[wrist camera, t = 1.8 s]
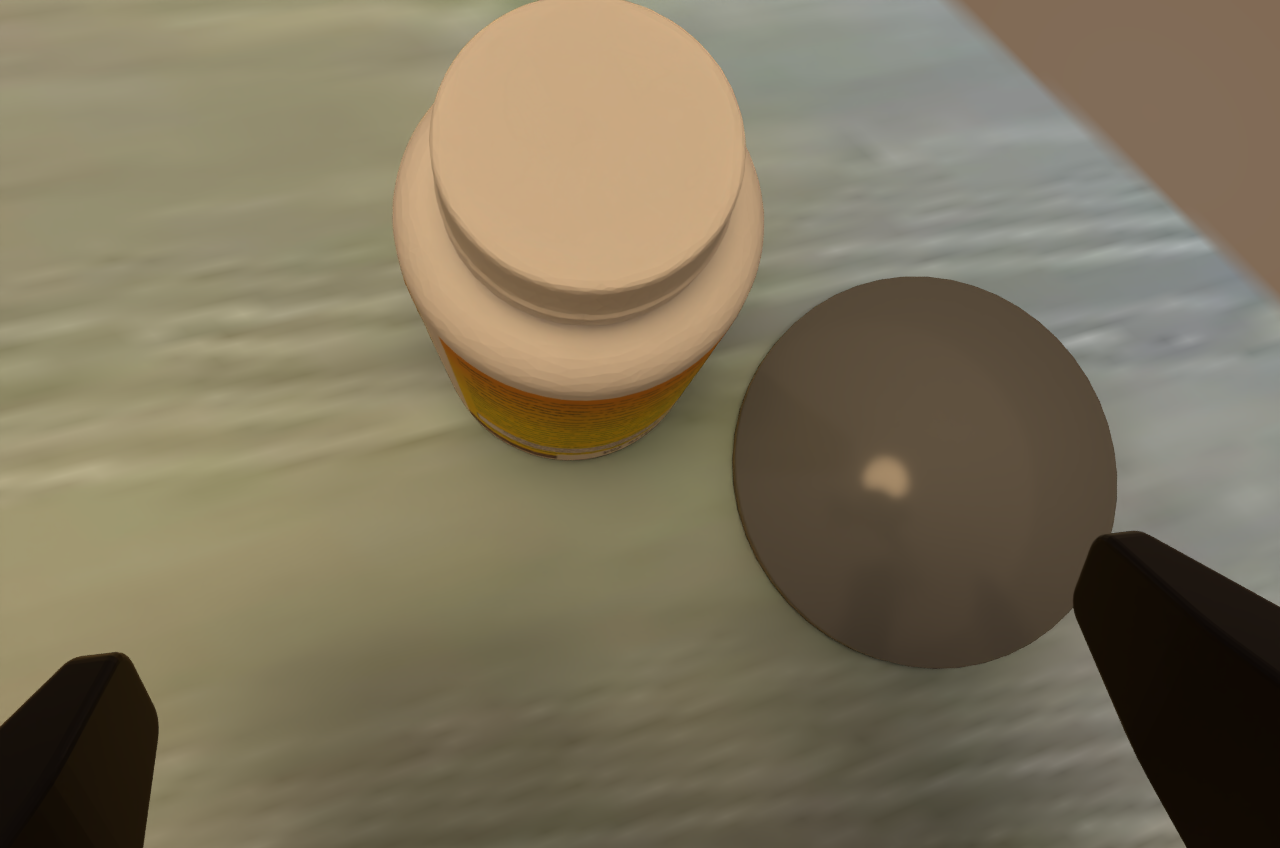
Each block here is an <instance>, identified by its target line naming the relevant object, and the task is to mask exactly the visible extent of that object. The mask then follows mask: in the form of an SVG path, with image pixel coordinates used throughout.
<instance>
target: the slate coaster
mask: <svg viewBox="0 0 1280 848" xmlns="http://www.w3.org/2000/svg"><path fill="white" fill-rule="evenodd" d="M732 464H733V485H734V491H735V496H736V502H737V508H738V512H739V515H740V519H741V522H742V525H743V528H744V531H745V535H746V537H747V539H748V541H749V544H750V546H751V548H752V550H753V552H754V555H755V557H756V559H757V561H758V562H759V564H760V566H761V567H762V569H763V570H764V572H765V574H766V575H767V577H768V578H769V580H770V582H771V583H772V584H773V585H774V587H775V588H776V589H777V590H778V592H779V593H780V594H781V595H782V596H783V598H784V599H785V600H786V601H787V603H788V604H790V605H791V606H792V607H793V608H794V609H795V610H796V611H797V612H798V613H799V614H800V615H801V616H802V617H803V618H804V619H805V620H806V621H808V622H809V623H810V624H812V625H813V626H814V627H816V628H817V629H819V630H820V631H821V632H823V633H824V634H825V635H827V636H828V637H830V638H832V639H834V640H836V641H837V642H839V643H841V644H843V645H845V646H847V647H848V648H850V649H852V650H855V651H858V652H860V653H863V654H865V655H868V656H871V657H873V658H876V659H880V660H885V661H889V662H893V663H897V664H901V665H906V666H912V667H923V668H933V669H937V668H960V667H965V666H970V665H976V664H981V663H986V662H989V661H992V660H994V659H997V658H1000V657H1003V656H1006V655H1009V654H1011V653H1013V652H1015V651H1017V650H1019V649H1021V648H1023V647H1025V646H1027V645H1029V644H1031V643H1032V642H1033V641H1035V640H1036V639H1038V638H1039V637H1041V636H1042V635H1043V634H1045V633H1046V632H1048V631H1049V630H1050V629H1052V628H1053V627H1054V626H1055V625H1056V624H1057V623H1058V622H1059V621H1060V620H1061V619H1062V618H1063V617H1064V616H1065V615H1066V614H1067V613H1069V611H1070V610H1071V609H1072V608H1073V593H1074V589H1075V586H1076V584H1077V581H1078V578H1079V576H1080V573H1081V570H1082V568H1083V565H1084V562H1085V560H1086V557H1087V554H1088V552H1089V549H1090V546H1091V544H1092V542H1093V541H1094V540H1095V539H1096V538H1097V537H1098V536H1100V535H1103V534H1109V533H1111V531H1112V527H1113V523H1114V516H1115V508H1116V501H1117V470H1116V462H1115V453H1114V447H1113V443H1112V438H1111V434H1110V430H1109V426H1108V423H1107V420H1106V417H1105V415H1104V412H1103V409H1102V407H1101V404H1100V401H1099V399H1098V397H1097V395H1096V393H1095V391H1094V390H1093V388H1092V386H1091V384H1090V382H1089V380H1088V378H1087V377H1086V375H1085V374H1084V372H1083V371H1082V369H1081V368H1080V366H1079V365H1078V363H1077V362H1076V360H1075V359H1074V357H1073V356H1072V355H1071V354H1070V353H1069V351H1068V350H1067V349H1066V348H1065V347H1064V346H1063V344H1062V343H1061V342H1060V341H1059V340H1058V339H1057V338H1056V337H1055V336H1054V335H1053V334H1052V333H1051V332H1050V331H1049V330H1048V329H1046V328H1045V327H1044V326H1043V325H1042V324H1041V323H1040V322H1039V321H1037V320H1036V319H1035V318H1033V317H1032V316H1030V315H1029V314H1028V313H1026V312H1025V311H1024V310H1022V309H1021V308H1019V307H1018V306H1016V305H1014V304H1012V303H1010V302H1009V301H1007V300H1005V299H1003V298H1001V297H1000V296H998V295H995V294H993V293H990V292H988V291H985V290H983V289H980V288H978V287H975V286H972V285H968V284H965V283H961V282H957V281H953V280H948V279H940V278H932V277H898V278H890V279H883V280H877V281H874V282H870V283H866V284H863V285H859V286H856V287H853V288H851V289H849V290H846V291H844V292H841V293H839V294H837V295H834V296H833V297H831V298H829V299H828V300H826V301H824V302H823V303H821V304H819V305H818V306H816V307H814V308H813V309H812V310H810V311H809V312H808V313H807V314H805V315H804V316H803V317H802V318H800V319H799V320H798V321H797V322H795V323H794V324H793V325H792V326H791V327H790V328H789V330H788V331H787V332H786V333H785V334H784V335H783V336H782V337H781V338H780V339H779V340H778V341H777V342H776V343H775V344H774V345H773V347H772V348H771V350H770V351H769V352H768V354H767V355H766V357H765V358H764V359H763V361H762V362H761V364H760V365H759V367H758V369H757V371H756V373H755V374H754V376H753V378H752V380H751V382H750V384H749V386H748V388H747V391H746V394H745V397H744V399H743V402H742V405H741V408H740V411H739V415H738V420H737V424H736V429H735V434H734V445H733V457H732Z"/></svg>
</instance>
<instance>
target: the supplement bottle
mask: <svg viewBox="0 0 1280 848" xmlns="http://www.w3.org/2000/svg"><path fill="white" fill-rule="evenodd" d="M393 233H394V240H395V245H396V250H397V255H398V259H399V263H400V268H401V271H402V275H403V278H404V281H405V284H406V286H407V288H408V291H409V293H410V295H411V297H412V299H413V301H414V304H415V306H416V308H417V310H418V312H419V314H420V316H421V318H422V320H423V322H424V324H425V326H426V329H427V331H428V333H429V335H430V338H431V340H432V342H433V344H434V346H435V348H436V350H437V352H438V354H439V357H440V359H441V361H442V363H443V365H444V367H445V369H446V371H447V373H448V375H449V378H450V380H451V382H452V384H453V386H454V388H455V390H456V392H457V393H458V395H459V397H460V398H461V400H462V401H463V403H464V404H465V406H466V407H467V409H468V410H469V411H470V413H471V414H472V415H473V416H474V417H475V418H476V419H477V420H478V422H479V423H480V424H481V425H483V426H484V427H485V428H486V429H487V430H488V431H489V432H491V433H492V434H493V435H495V436H496V437H497V438H499V439H501V440H502V441H504V442H505V443H507V444H509V445H511V446H513V447H515V448H517V449H520V450H522V451H524V452H527V453H530V454H532V455H536V456H540V457H544V458H550V459H558V460H580V459H589V458H594V457H599V456H603V455H606V454H610V453H612V452H615V451H617V450H620V449H622V448H624V447H626V446H628V445H630V444H632V443H634V442H635V441H637V440H639V439H640V438H641V437H643V436H644V435H645V434H647V433H648V432H649V431H650V430H652V429H653V428H654V427H655V426H656V425H657V424H658V423H659V422H660V421H661V420H662V419H663V418H664V417H665V416H666V415H667V413H668V412H669V411H670V409H671V408H672V407H673V405H674V404H675V403H676V401H677V400H678V398H679V397H680V396H681V394H682V393H683V391H684V390H685V389H686V387H687V386H688V385H689V383H690V382H691V381H692V379H693V378H694V376H695V375H696V374H697V372H698V371H699V370H700V368H701V367H702V366H703V364H704V363H705V361H706V360H707V359H708V357H709V356H710V354H711V353H712V351H713V350H714V348H715V347H716V346H717V344H718V343H719V342H720V340H721V339H722V337H723V336H724V335H725V333H726V332H727V331H728V329H729V328H730V326H731V325H732V323H733V322H734V320H735V319H736V317H737V315H738V313H739V312H740V310H741V308H742V306H743V304H744V302H745V300H746V298H747V296H748V294H749V292H750V290H751V288H752V285H753V282H754V279H755V277H756V274H757V270H758V266H759V262H760V258H761V253H762V245H763V234H764V210H763V202H762V195H761V190H760V185H759V181H758V177H757V174H756V170H755V167H754V165H753V162H752V159H751V157H750V154H749V152H748V150H747V148H746V145H745V133H744V127H743V121H742V116H741V113H740V109H739V106H738V103H737V100H736V98H735V95H734V92H733V90H732V88H731V86H730V84H729V82H728V80H727V78H726V77H725V75H724V73H723V71H722V69H721V68H720V67H719V65H718V64H717V63H716V61H715V60H714V59H713V58H712V56H711V55H710V54H709V53H708V52H707V50H706V49H705V48H704V47H703V46H702V45H701V44H700V43H699V42H698V41H697V40H696V39H695V38H694V37H692V36H691V35H690V34H689V33H688V32H687V31H685V30H684V29H683V28H681V27H680V26H678V25H677V24H676V23H674V22H673V21H671V20H669V19H667V18H665V17H663V16H662V15H660V14H658V13H656V12H654V11H653V10H650V9H648V8H645V7H642V6H640V5H637V4H634V3H631V2H628V1H624V0H540V1H537V2H533V3H530V4H527V5H524V6H521V7H519V8H517V9H515V10H513V11H511V12H509V13H507V14H505V15H503V16H501V17H499V18H498V19H496V20H494V21H493V22H492V23H490V24H489V25H488V26H486V27H485V28H484V29H483V30H481V31H480V32H479V33H478V34H476V35H475V36H474V37H473V38H472V39H471V40H470V41H469V42H468V43H467V44H466V45H465V46H464V47H463V49H462V50H461V51H460V52H459V54H458V55H457V57H456V58H455V59H454V61H453V62H452V64H451V66H450V67H449V69H448V71H447V72H446V74H445V76H444V79H443V81H442V83H441V85H440V87H439V89H438V92H437V95H436V99H435V102H434V104H433V105H432V106H431V107H430V109H429V110H428V111H427V113H426V114H425V115H424V117H423V118H422V119H421V121H420V122H419V124H418V126H417V127H416V129H415V131H414V133H413V134H412V136H411V138H410V141H409V143H408V145H407V147H406V149H405V152H404V155H403V158H402V161H401V164H400V167H399V171H398V174H397V179H396V184H395V190H394V198H393Z"/></svg>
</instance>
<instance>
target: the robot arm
mask: <svg viewBox="0 0 1280 848" xmlns="http://www.w3.org/2000/svg"><path fill="white" fill-rule="evenodd" d="M1073 608H1074V613H1075V616H1076V619H1077V621H1078V624H1079V626H1080V628H1081V631H1082V633H1083V635H1084V638H1085V640H1086V642H1087V645H1088V647H1089V649H1090V652H1091V654H1092V656H1093V659H1094V661H1095V663H1096V666H1097V668H1098V670H1099V673H1100V675H1101V677H1102V680H1103V682H1104V684H1105V687H1106V689H1107V691H1108V693H1109V696H1110V698H1111V700H1112V703H1113V705H1114V707H1115V710H1116V712H1117V714H1118V717H1119V719H1120V721H1121V724H1122V726H1123V728H1124V731H1125V733H1126V735H1127V737H1128V739H1129V742H1130V744H1131V746H1132V748H1133V750H1134V752H1135V754H1136V756H1137V758H1138V760H1139V762H1140V764H1141V766H1142V768H1143V770H1144V772H1145V774H1146V775H1147V777H1148V779H1149V781H1150V783H1151V785H1152V786H1153V788H1154V790H1155V792H1156V794H1157V795H1158V797H1159V799H1160V801H1161V803H1162V804H1163V806H1164V808H1165V810H1166V812H1167V813H1168V815H1169V817H1170V819H1171V821H1172V822H1173V824H1174V826H1175V828H1176V830H1177V831H1178V833H1179V835H1180V837H1181V839H1182V840H1183V842H1184V844H1185V846H1186V848H1280V607H1279V606H1277V605H1275V604H1274V603H1272V602H1270V601H1268V600H1266V599H1265V598H1263V597H1261V596H1259V595H1257V594H1256V593H1254V592H1252V591H1250V590H1248V589H1246V588H1245V587H1243V586H1241V585H1239V584H1237V583H1236V582H1234V581H1232V580H1230V579H1228V578H1226V577H1225V576H1223V575H1221V574H1219V573H1217V572H1216V571H1214V570H1212V569H1210V568H1208V567H1206V566H1205V565H1203V564H1201V563H1199V562H1197V561H1196V560H1194V559H1192V558H1190V557H1188V556H1187V555H1185V554H1183V553H1181V552H1179V551H1177V550H1176V549H1174V548H1172V547H1170V546H1168V545H1167V544H1165V543H1163V542H1161V541H1159V540H1157V539H1156V538H1154V537H1152V536H1150V535H1148V534H1146V533H1144V532H1140V531H1126V532H1118V533H1109V534H1103V535H1100V536H1098V537H1097V538H1096V539H1095V540H1094V541H1093V542H1092V544H1091V546H1090V549H1089V552H1088V554H1087V557H1086V560H1085V562H1084V565H1083V568H1082V570H1081V573H1080V576H1079V578H1078V581H1077V584H1076V586H1075V589H1074V593H1073ZM158 734H159V725H158V717H157V713H156V710H155V707H154V705H153V703H152V701H151V699H150V697H149V695H148V693H147V691H146V689H145V687H144V685H143V683H142V681H141V679H140V677H139V675H138V673H137V671H136V669H135V667H134V665H133V663H132V661H131V660H130V658H129V657H128V656H126V655H125V654H123V653H119V652H112V653H103V654H95V655H87V656H79V657H76V658H73V659H71V660H70V661H68V662H67V663H65V664H64V665H63V666H62V667H61V668H60V669H59V670H58V671H57V672H56V673H55V674H54V675H53V676H52V677H51V678H50V679H49V680H48V681H46V682H45V683H44V684H43V685H42V686H41V687H40V688H39V689H38V690H37V691H36V692H35V693H34V694H33V695H32V696H31V697H30V698H29V699H28V700H27V701H26V702H25V703H24V704H23V705H22V706H21V707H20V708H19V709H18V710H17V711H16V712H15V713H14V714H13V715H12V716H11V717H9V718H8V719H7V720H6V721H5V722H4V723H3V724H2V725H1V726H0V848H143V845H144V838H145V831H146V823H147V816H148V809H149V801H150V794H151V787H152V780H153V772H154V765H155V758H156V750H157V743H158Z"/></svg>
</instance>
